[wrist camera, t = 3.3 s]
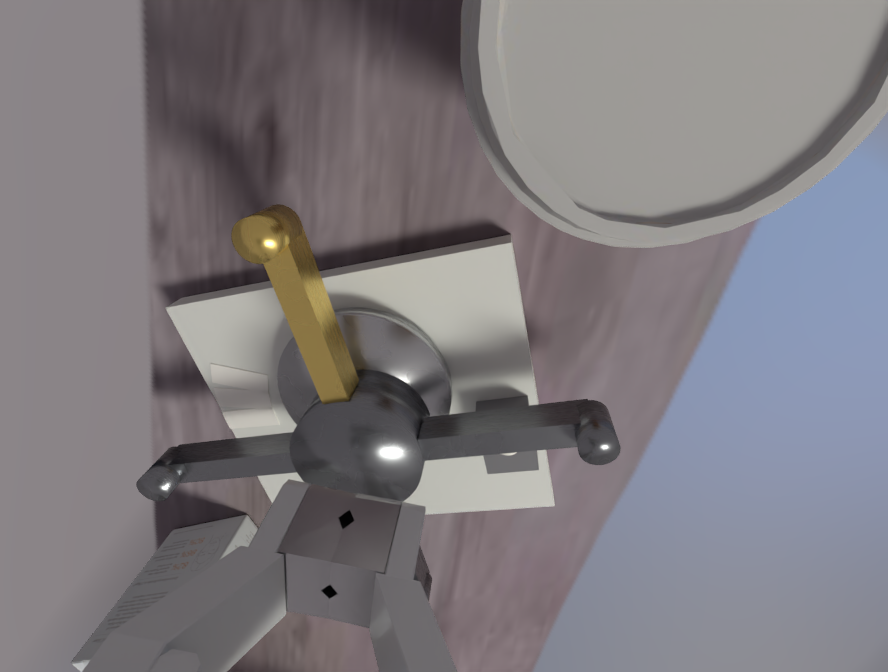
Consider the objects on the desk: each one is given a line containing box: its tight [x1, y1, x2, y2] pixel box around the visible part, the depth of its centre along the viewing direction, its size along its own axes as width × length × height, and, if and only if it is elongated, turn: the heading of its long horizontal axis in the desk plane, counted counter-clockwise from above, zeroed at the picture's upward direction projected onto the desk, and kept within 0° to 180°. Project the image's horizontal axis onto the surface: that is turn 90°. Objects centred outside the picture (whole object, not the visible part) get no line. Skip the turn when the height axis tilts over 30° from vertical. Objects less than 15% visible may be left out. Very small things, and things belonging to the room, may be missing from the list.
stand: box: [166, 234, 555, 514], centre depth 27 cm, size 18×20×4 cm
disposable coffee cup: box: [460, 0, 888, 248], centre depth 14 cm, size 10×10×12 cm
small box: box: [72, 515, 258, 672], centre depth 33 cm, size 8×6×10 cm
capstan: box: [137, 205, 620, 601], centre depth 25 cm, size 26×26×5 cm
